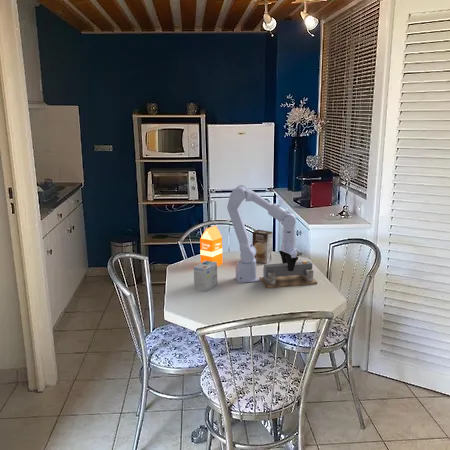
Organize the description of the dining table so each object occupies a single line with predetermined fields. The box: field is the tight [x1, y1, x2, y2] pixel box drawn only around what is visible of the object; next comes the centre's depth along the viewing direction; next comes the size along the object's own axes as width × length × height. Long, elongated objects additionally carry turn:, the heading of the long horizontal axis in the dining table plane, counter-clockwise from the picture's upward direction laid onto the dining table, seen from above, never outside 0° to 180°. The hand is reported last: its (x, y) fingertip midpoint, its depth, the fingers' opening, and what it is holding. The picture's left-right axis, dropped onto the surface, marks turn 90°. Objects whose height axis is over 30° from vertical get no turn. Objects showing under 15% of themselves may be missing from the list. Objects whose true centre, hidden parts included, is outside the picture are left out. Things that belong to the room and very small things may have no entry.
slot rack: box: [258, 267, 318, 289], centre depth 218 cm, size 24×12×6 cm, turn 101°
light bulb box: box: [193, 261, 218, 292], centre depth 212 cm, size 11×7×11 cm, turn 154°
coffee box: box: [251, 229, 273, 265], centre depth 248 cm, size 9×6×16 cm
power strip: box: [263, 260, 313, 278], centre depth 218 cm, size 22×4×6 cm, turn 101°
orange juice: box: [199, 225, 223, 267], centre depth 243 cm, size 8×9×20 cm
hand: (288, 268), depth 218 cm, fingers open, 7 cm apart
